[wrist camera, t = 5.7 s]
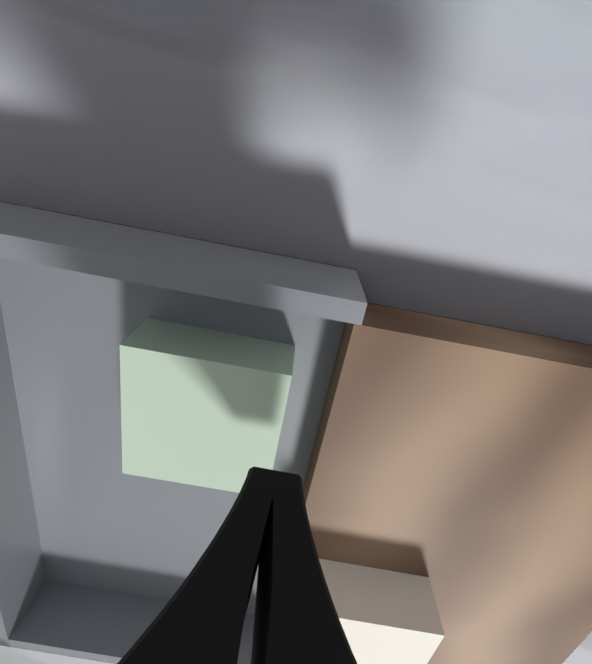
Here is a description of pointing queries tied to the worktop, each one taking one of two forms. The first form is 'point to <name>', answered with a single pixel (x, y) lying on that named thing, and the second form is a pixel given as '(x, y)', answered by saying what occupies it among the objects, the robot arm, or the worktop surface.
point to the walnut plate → (463, 477)
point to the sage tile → (201, 403)
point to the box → (105, 416)
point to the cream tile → (384, 613)
